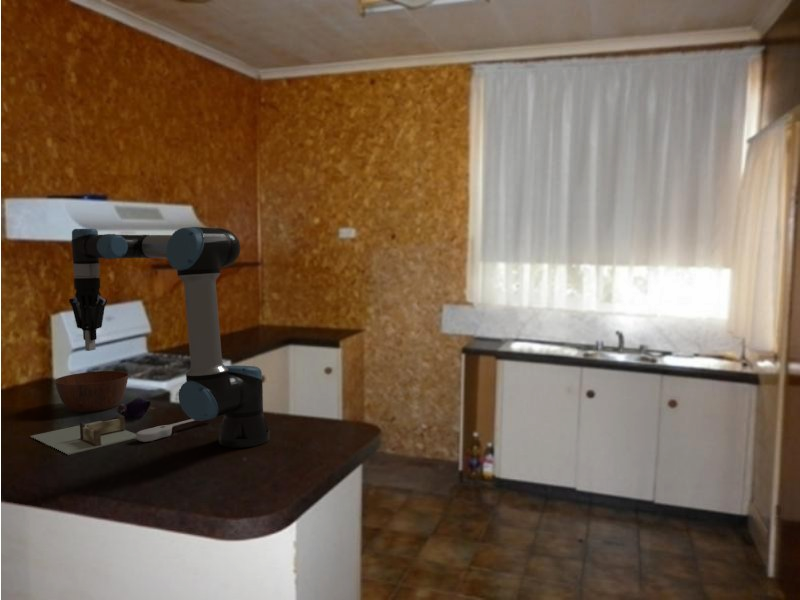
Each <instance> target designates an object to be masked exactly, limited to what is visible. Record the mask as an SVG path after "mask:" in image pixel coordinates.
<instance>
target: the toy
mask: <svg viewBox="0 0 800 600" xmlns="http://www.w3.org/2000/svg"><path fill="white" fill-rule="evenodd" d="M151 403H152V402H151V401H150V400H148V401H147V400H144V398H142V397H140V396H139V397H136V398H135V399H133V400H132V401H130V402H128V403H126V404H124V403H119V404H118V405H117V407H116V408H115V410H116V411H117V413H118V414H119V415H121V416H124V417H126V418H139V419H141V418H143V417H144V416H145V414H146V413H147V412H149V410H155V408H156V407H151Z"/></svg>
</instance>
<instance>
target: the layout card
mask: <svg viewBox="0 0 800 600" xmlns="http://www.w3.org/2000/svg"><path fill="white" fill-rule="evenodd" d="M98 422H103V421H102V420H99V421H93V422H88V423H85V427H87V425H88V424H93V423H98ZM100 435H101V445H100V446H95V445H94V443H92V442H90V441H88V440H85V439H83V440H81V438H80V424H79V425H75V426H70V427H66V428H61V429H56V430H51V431H47V432H46V431H45V432H42V433H38V434H33V435H30V438H31V439H33V438H34V439H33V440H35V439H36V441H37V440H38V441H37V442H39V441H40V443H41V442H42V443H41V444H43V443H44V444H43V445H45V446H48V447H50V446H51V447H50V448H52V447H53V448H52V449H54V448H55V449H54V450H56V449H57V450H56V451H58V450H59V452H60V451H61V452H60V453H62V452H63V453H62V454H64V453H65V455H66V454H67V456H70V455H75V454H77V453H82V452H85V451H90V450H95V449H98V448H102V447H106V446H111V445H115V444H118V443H122V442H125V441H130V440H131V441H132V440H133V439H135V440H136V433H135V432H132V431H129V430H126V429H125V430H117V431H113V432H108V433H103V434H100Z"/></svg>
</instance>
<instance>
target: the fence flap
mask: <svg viewBox="0 0 800 600" xmlns="http://www.w3.org/2000/svg"><path fill="white" fill-rule="evenodd" d="M97 422H98V421H97ZM92 423H93V422H92ZM87 424H88V423H87ZM87 427H89V428H91V429H94V430H97V429H99V430H100V434H103V433H108V432H113V431H117V430H126V419H125V416H123V415H121V416H118V417H117V418H115V419H114V418H113V419H109V420H105V421H104V420H103V421H102V422H98V423H93V424H88V425H87Z"/></svg>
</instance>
